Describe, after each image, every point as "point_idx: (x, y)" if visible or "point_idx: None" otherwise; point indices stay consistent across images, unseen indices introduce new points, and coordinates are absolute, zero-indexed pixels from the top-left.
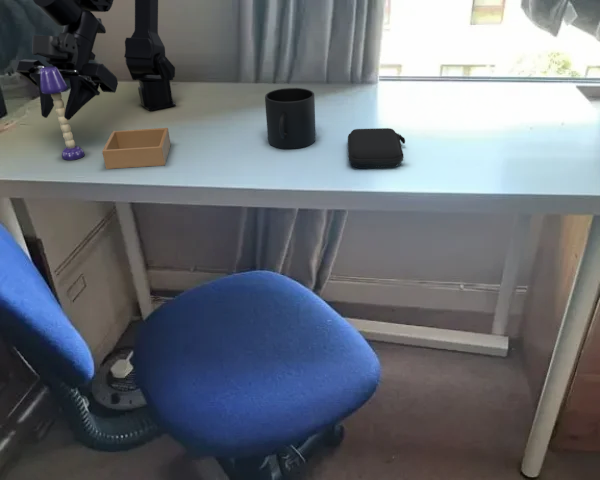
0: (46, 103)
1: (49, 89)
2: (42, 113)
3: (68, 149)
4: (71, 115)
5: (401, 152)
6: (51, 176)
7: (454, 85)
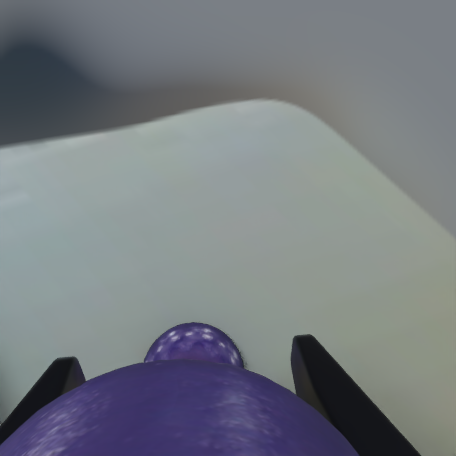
0: None
1: (66, 397)
2: (306, 342)
3: (186, 355)
4: None
5: None
6: (131, 164)
7: None
